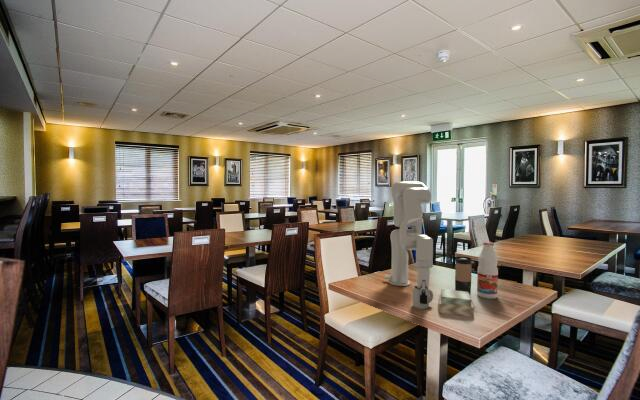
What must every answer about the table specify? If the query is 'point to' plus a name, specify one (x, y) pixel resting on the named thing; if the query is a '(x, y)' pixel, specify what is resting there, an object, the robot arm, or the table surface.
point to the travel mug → (463, 274)
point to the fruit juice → (487, 272)
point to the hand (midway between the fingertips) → (423, 300)
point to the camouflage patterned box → (455, 303)
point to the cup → (417, 298)
